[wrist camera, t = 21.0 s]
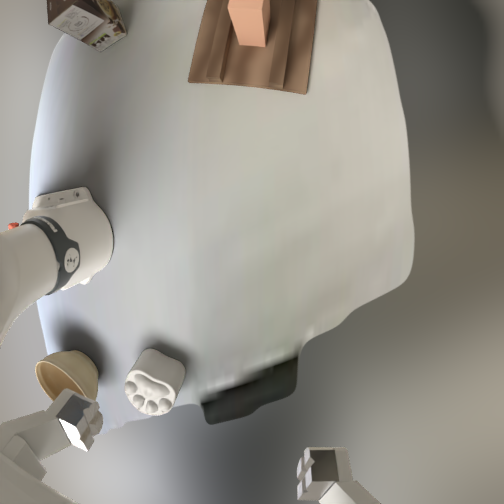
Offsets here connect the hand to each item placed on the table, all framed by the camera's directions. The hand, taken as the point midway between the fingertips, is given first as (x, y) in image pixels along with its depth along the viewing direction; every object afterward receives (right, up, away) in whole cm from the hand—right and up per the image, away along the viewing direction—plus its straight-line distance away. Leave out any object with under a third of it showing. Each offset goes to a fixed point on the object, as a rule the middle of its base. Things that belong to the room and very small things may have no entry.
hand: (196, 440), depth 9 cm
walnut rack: (+3, +41, +26) cm, 49 cm away
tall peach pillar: (+3, +41, +25) cm, 48 cm away
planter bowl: (-39, -21, +48) cm, 65 cm away
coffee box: (-25, +49, +27) cm, 61 cm away
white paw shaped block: (-18, -19, +46) cm, 53 cm away
